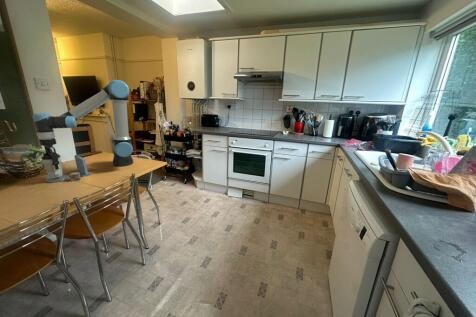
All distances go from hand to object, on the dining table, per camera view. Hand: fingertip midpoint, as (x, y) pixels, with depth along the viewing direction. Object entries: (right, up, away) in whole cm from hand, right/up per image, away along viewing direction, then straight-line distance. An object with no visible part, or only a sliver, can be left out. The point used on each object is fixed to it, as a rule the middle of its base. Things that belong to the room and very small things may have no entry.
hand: (55, 172), depth 131 cm
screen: (+8, -2, +13) cm, 15 cm away
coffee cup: (0, -3, 0) cm, 3 cm away
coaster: (0, -5, +2) cm, 5 cm away
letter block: (+12, -5, +2) cm, 13 cm away
